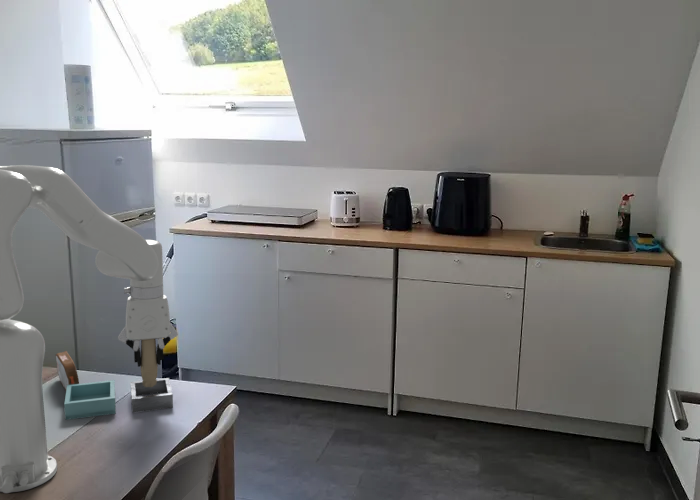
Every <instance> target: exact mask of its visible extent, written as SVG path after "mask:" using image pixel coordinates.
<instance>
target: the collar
mask: <svg viewBox="0 0 700 500" xmlns="http://www.w3.org/2000/svg"><path fill="white" fill-rule="evenodd" d="M156 380H157V383H156V385H154V386H153V387H145V386H143V384H142V381H143V380H139V381H137V380H136V381H130V395H131V397H130V398H131V399H130V400H131V410H132V414H134V413H143V412H149V411H159V410H165V409H167V410H168V409H173V408H174V400H173V398H174V395H173V389H172V385H171V381H170V377H166V378H165V377H164V378H156Z"/></svg>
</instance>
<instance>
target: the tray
mask: <svg viewBox="0 0 700 500" xmlns="http://www.w3.org/2000/svg"><path fill="white" fill-rule="evenodd" d="M115 385H116V383H115V379H113V380H111V379H110V380H104V381H103V380H101V381H93V382H84V383H79V384H73V385H67V390H65V397H64V398H65V399H64V419H65V421H68V420H75V419H83V418H91V417H92V418H93V417H99V416H107V415H115V414H117V413H116V411H117V410H116V408H117V407H116V386H115Z"/></svg>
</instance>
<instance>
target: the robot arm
mask: <svg viewBox="0 0 700 500" xmlns="http://www.w3.org/2000/svg"><path fill="white" fill-rule="evenodd" d="M28 209H35V210H37V211H40V212H41V213H43V215H45V216H46V217H47V218H48V219H49V220H50V221H51V223H53V224H55V226H56V227H58V228H59V229H60V231H62V233H64V234H65V235H66V237H68V239H70V240H71V241H74V242H76V243H78V244H80V245H83V246H85V247H87V248H90V249H94V250H97V253H96V255H95V258H94V259H95V260H94V261H95V267H96V269H97V270H98V271H99V272H100V273H101V274H103V275H104V276H108V277H112V278H119V279H125V280H129V286H128V287H124V288H123V294H124V295H125V294H126V295H129V297H127V299H126V301H127V302H126V306H125V307H126V309H125V325H124V327H123V328H122V330H121V331H120V333H119V334H118V336H117V341H119V342H121V343H123V344H126V345H127V346H128V347H129V348H130V349H132V350H133V359H134V361H133V362H134V363H137V367H138V368H139V367H140V368H141V347H140V342H141V340H148V339H155V340H157V343H156V353H157V365H158V366H160V365H162V364H161V363H162V361H163V360H164V349H165V347H167V345H168V344H169V342H171V340H174V339H175V338H176V337H178V335H179V333H178V331H177V330H176V328H175V327H174V326H173V324H172V323H171V317H170V307H169V306H170V305H169V302H168V297H167V295H165V294H164V273H163V272H164V271H163V270H164V267H163V246H162V243H161V242H160V241H158V240H155V239H154V240H153V239H145V237H143V236H142V235H141V234H140V233H139V232H137V231H136V230H134V229H133V228H131V227H129V226H127V224H125V223H123V222H122V221H120V220H118V219H116V218H115V217H113V216H112V215H110V214H108V213H106V212H104V211H103V210H102V209H101V208H100V207H98V205H97V204H96V203H95V202H94V201H93V200H92V199H91V198H90V197H89V196H88V195H87V194H86V193H85V192H84V190H83V189H82V188H81V187H80V186H79V185H78V184H77V183H76V182H75V181H74V180H73V179H72V177H70V176H69V175H68V174H67V173H66V172H64V171H63V170H61V169H59V168H57V167H52V166H42V165H41V166H40V165H29V164H18V165H17V164H16V165H0V493H4V494H10V493H17V492H23V491H28V490H31V489H33V488H37V487H39V486H41V485H43V484H44V483H46V482H48V481H50V479H52V478H53V476H55V474H56V472H57V471H58V462H57V460H56V458H54V457H53V456H51V455H49V454H48V443H47V442H48V440H47V430H46V428H47V427H46V418H45V417H46V416H45V404H44V403H45V401H44V391H43V390H44V389H43V387H44V386H43V367H44V359H45V352H46V342H45V338H44V336H43V334H42V333H41V331H39V330H38V328H36V327H35V326H34V325H31V324H29V323H26V322H24V321H20V320H16V319H15V320H14V319H12V318H14V317H15V316H17V315H18V314H19V313H20V312H21V311H22V309H23V306H24V303H25V302H24V301H25V295H24V290H23V285H22V281H21V278H20V277H21V276H20V274H19V270H18V267H17V262H16V259H15V255H14V250H13V249H14V248H13V241H12V240H13V239H12V238H13V233H14V230H15V229H16V226H17V223H18V222H19V221H20V219H21V218H22V217H23V215H24V213H25V212H26V211H27V210H28Z"/></svg>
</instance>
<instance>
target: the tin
mask: <svg viewBox="0 0 700 500" xmlns="http://www.w3.org/2000/svg"><path fill="white" fill-rule="evenodd" d="M55 360H56V367H57V369H56V370H57V375H58V379H59V381H60V383H61V385H62V387H63V388H64V390H65V391H66V390H67V385H73V384H80V380H79V376H78V371H77V370H78V369H77V367H76V364H75V363H74V360H73V359H72V357H71V356H70V354H69V353H68V351H67V350H65V351H62V352H57V353H56V354H55Z"/></svg>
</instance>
